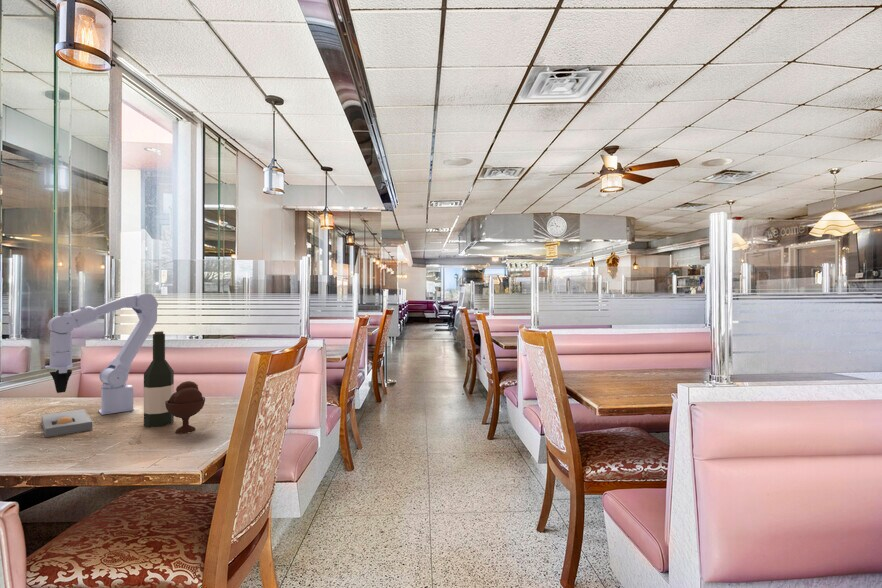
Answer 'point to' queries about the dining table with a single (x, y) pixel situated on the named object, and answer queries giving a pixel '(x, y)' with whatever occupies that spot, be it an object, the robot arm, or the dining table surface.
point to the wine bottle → (158, 386)
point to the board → (79, 423)
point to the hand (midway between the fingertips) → (61, 392)
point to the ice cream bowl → (185, 404)
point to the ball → (64, 420)
